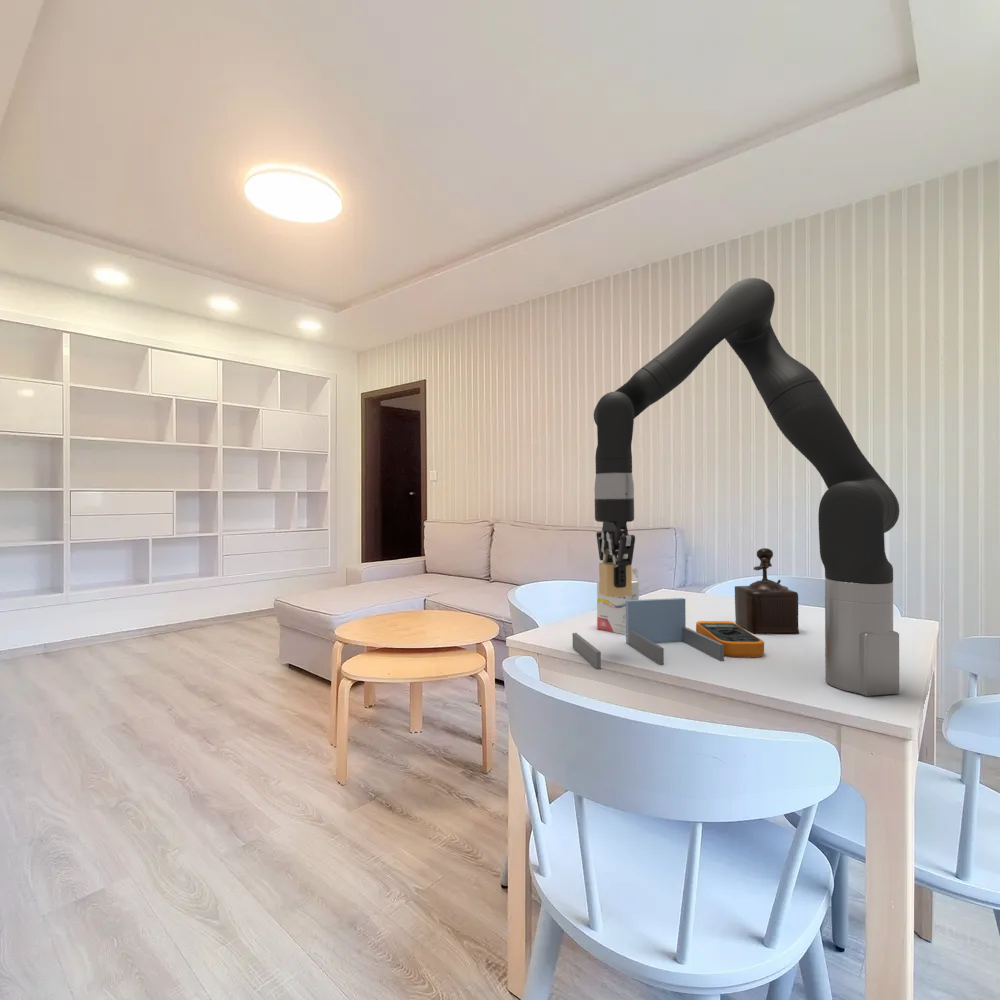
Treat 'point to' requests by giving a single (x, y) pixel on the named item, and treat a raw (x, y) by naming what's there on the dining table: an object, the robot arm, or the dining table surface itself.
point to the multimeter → (732, 638)
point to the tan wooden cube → (608, 581)
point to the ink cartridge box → (615, 608)
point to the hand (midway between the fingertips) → (615, 585)
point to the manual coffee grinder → (766, 603)
